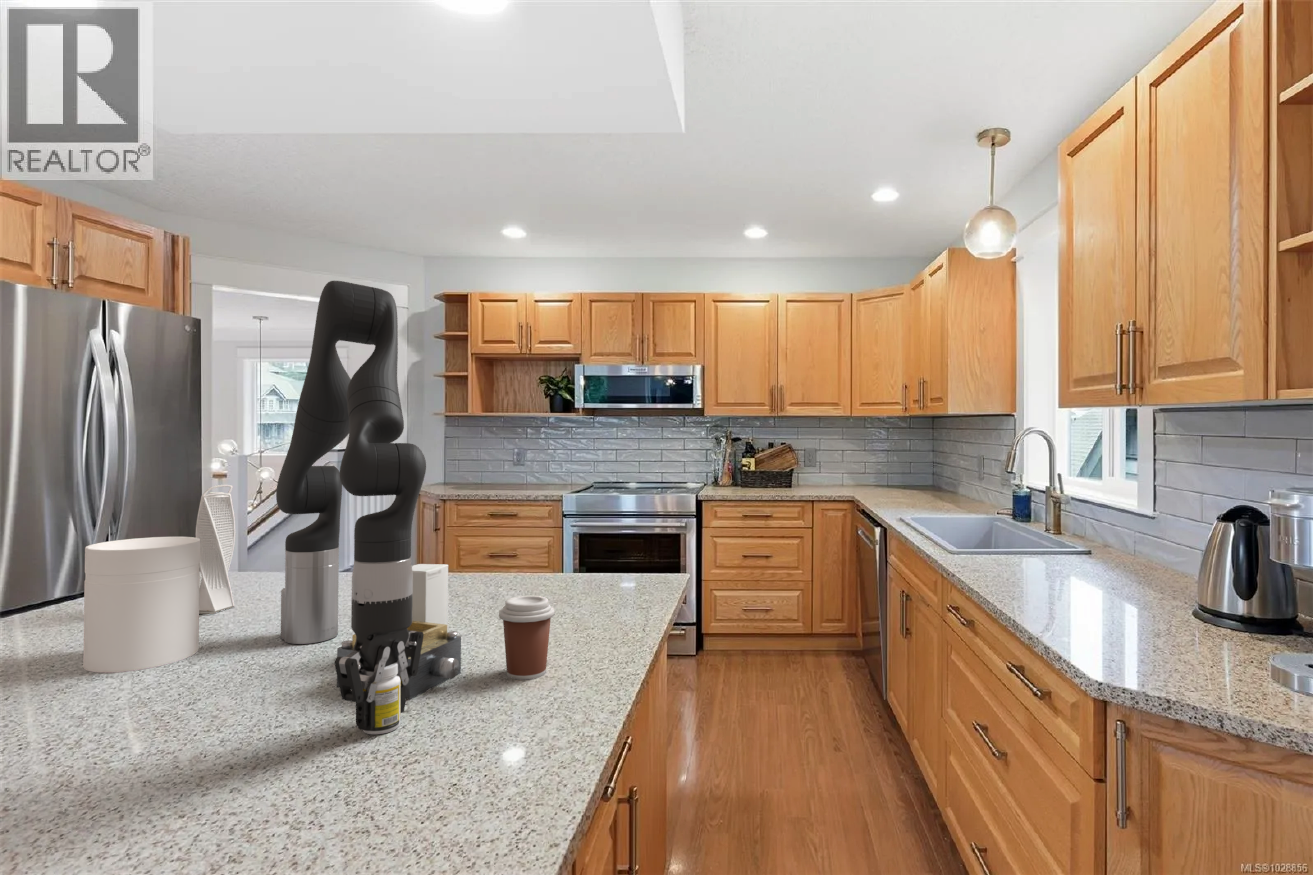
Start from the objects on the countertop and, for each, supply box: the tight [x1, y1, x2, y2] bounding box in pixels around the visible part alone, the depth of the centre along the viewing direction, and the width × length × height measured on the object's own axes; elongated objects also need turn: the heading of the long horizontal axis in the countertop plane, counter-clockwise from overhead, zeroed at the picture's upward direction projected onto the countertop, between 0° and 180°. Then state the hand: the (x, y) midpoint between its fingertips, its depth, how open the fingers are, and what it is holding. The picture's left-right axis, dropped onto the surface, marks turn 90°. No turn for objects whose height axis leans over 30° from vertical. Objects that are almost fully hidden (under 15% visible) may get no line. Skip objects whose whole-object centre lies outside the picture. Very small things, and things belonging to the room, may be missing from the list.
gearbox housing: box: [336, 621, 462, 701], centre depth 104 cm, size 17×12×8 cm
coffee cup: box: [498, 594, 556, 681], centre depth 108 cm, size 9×9×12 cm
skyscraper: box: [195, 484, 236, 615], centre depth 147 cm, size 8×8×28 cm
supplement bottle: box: [362, 662, 402, 735], centre depth 87 cm, size 5×5×8 cm
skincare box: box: [412, 563, 449, 633], centre depth 118 cm, size 8×7×16 cm
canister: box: [82, 536, 201, 674], centre depth 115 cm, size 16×16×20 cm
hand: (381, 720), depth 87 cm, fingers closed on supplement bottle, 4 cm apart
